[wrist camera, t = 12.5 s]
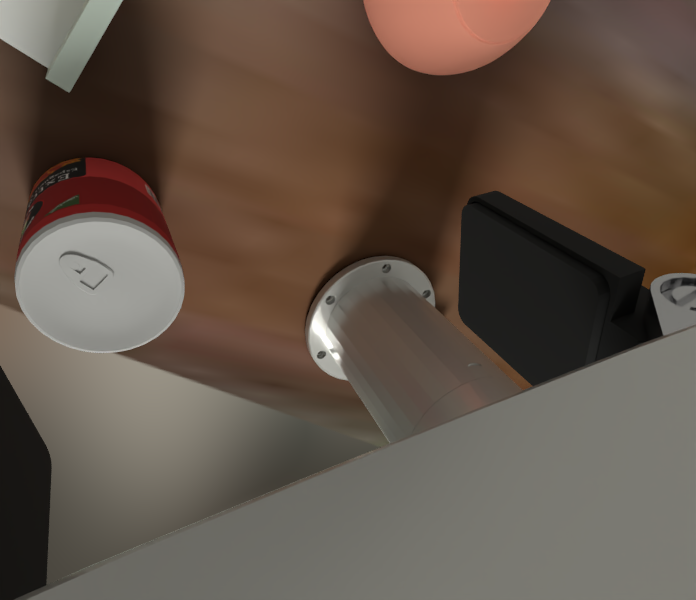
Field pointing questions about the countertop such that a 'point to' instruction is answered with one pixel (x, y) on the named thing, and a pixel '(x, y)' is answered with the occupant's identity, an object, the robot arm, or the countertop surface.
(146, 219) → the canned food
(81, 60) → the arena
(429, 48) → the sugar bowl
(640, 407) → the robot arm
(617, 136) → the countertop surface
